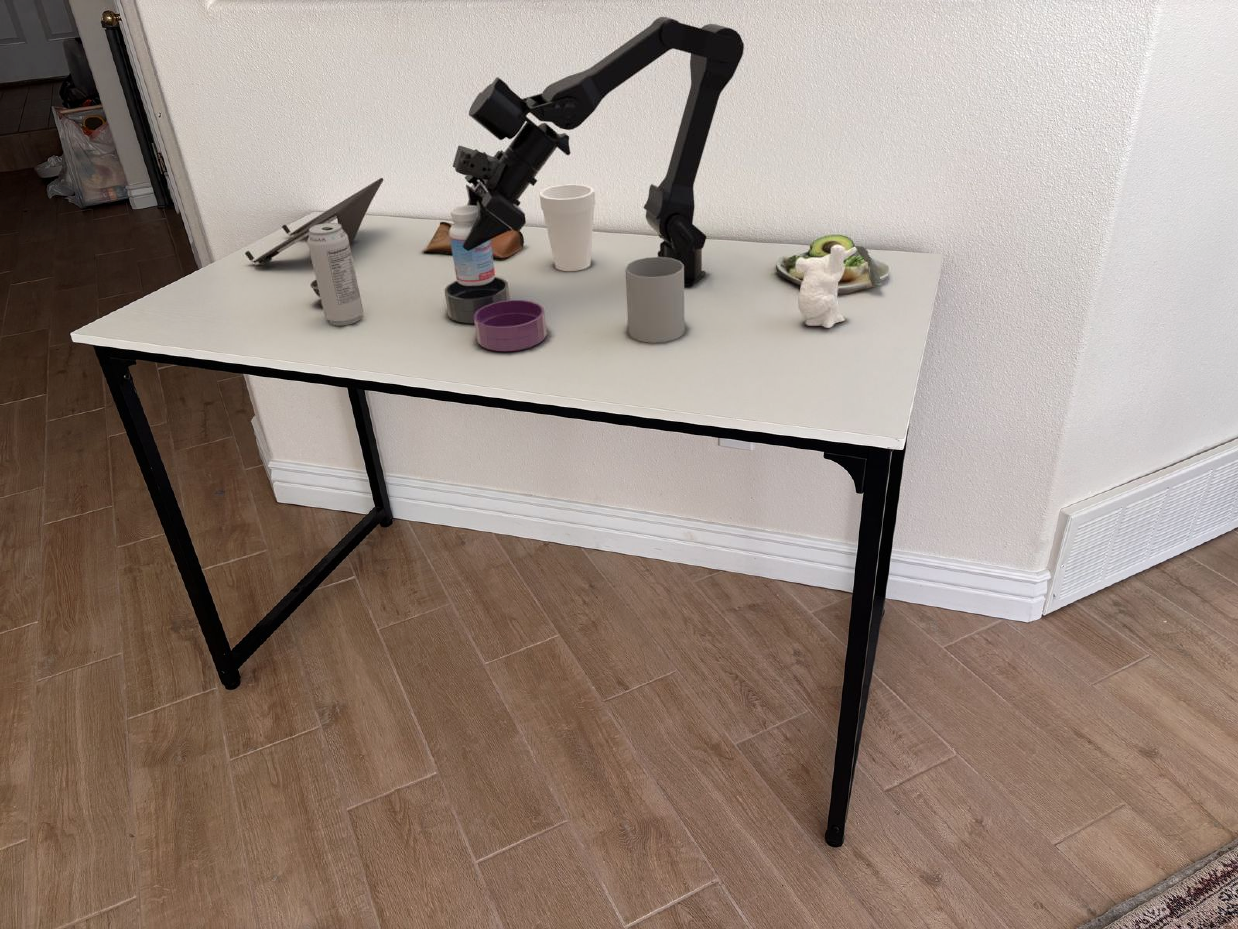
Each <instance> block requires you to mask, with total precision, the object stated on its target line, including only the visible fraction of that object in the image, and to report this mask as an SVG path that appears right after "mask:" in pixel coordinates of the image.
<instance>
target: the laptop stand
mask: <svg viewBox="0 0 1238 929" xmlns="http://www.w3.org/2000/svg"><path fill="white" fill-rule="evenodd" d="M383 182H384V178H383V177H380V178H378V179H377V180H375V181H374V182H372V183H370V184H368V185H366V186H365V187H363V188H362V189H360V190H358V191H357V192H355V193H353V194H352V195H350V196H348V197H346V198H345V199H344V200H342V201H340V202H338V203H337V204H336V205H334V206H332V207H330V208H329V209H327V210H325V211H324V212H322V213H321V214H319V215H317V216H316V217H314V218H313V219H311V220H309V221H307V222H306V223H304V224H302V225H301V226H300V227H298V228H297V229H295V230H294V231H291V230H290V228H289V227H288V225H287V224H283V225H282V226H281V228H282V229H283V231H284V232H285V233H286V235H287V236H288V237H289V238H288V239H287V240H285V241H283V242H281V243H280V244H279V245H276V246H275V247H273V248H271V249H270V250H268V251H266V252H265V253H263V254H261V255H260V256H259V257H257V258H256V259H255V257H254V255H253V254H252V253H251V252H250V250H247V251H245V253H244V255H245V256H246V257H247V259H248V260H249V261H250V262H251V264H253V265H255V266H259V265H261V266H262V267H263V266H265V265H266V264H269V263H270V262H271V261H273V258H274V257H276V256H278V255H279V254H280V253H282V252H283V251H285V250H287V249H288V248H290V247H291V246H293V245H295V244H296V243H298V242H300V241H302V240H303V239H305V238H306V237H307V238H308V237H309V234H310V232H309V229H310V228H311V227H313V226H315V225H318V224H323V223H333V222H334V221H335V220H336V219H337V223H338V224H341V226H342V229H343V231H344V232H345V233H346V234H347V235H348V240H349V245H350V246H351V245H353V243H354V241H355V239H356V237H357V234H358V232H359V230H360V227H361V225H362V223H363V220H364V218H365V215H366V214H367V212H368V209H369V208H370V206H371V204H372V201H373V200H374V198H375V196H376V195H377V193H378V190H379V189H380V187H381V185H382V184H383Z"/></svg>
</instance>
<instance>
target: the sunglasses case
mask: <svg viewBox="0 0 1238 929" xmlns="http://www.w3.org/2000/svg"><path fill="white" fill-rule="evenodd" d="M453 224H454V223H452V222H447V221H440V222H439V226H437V229H436V231H435V232H434V235H433V236H432V237H431V240H430V241H429V243H428V245H427V247H426V249H424V250H423V251H422V252H423V253H437V254H446V255H453V254H452V248H451V241H450V235H449V230H450V228H451V226H452V225H453ZM490 241H491V248H492V255H493V259H507V258H509V257H511V256H514V255H515V254H517V253H518V252H520V251H522V250H523V248H524V244H525V238H524V235H523V233H522V231H521V230H520V231H519V232H516V231H515V230H513V229H512V230H511V231H510V232H509V231H507V232H505V233H503V234H501V235H499V236H497V237H495V238H492V239H491V240H490Z"/></svg>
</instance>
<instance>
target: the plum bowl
mask: <svg viewBox="0 0 1238 929" xmlns="http://www.w3.org/2000/svg"><path fill="white" fill-rule="evenodd" d="M474 322H475V323H474V328H475V335H476V336H475V337H476V342H477V343H478V345H480V347H482V348H484V349H487V350H490V351H496V352H517V351H523V350H527V349H530V348H533V347H534V346H536V345H538V344H540V343H541V342H542V341H544V340H545V338H546V337H547V334H548V332H547V323H546V322H547V321H546V312H545V308H544V307H543V306H542V304H540V303H537V302H534V301H532V300H525V299H510V300H507V301H500V302H496V303H492V304H489V305H486V306H484V307H482V308H480V309H479V310H477V311H476V313H475V314H474Z"/></svg>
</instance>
